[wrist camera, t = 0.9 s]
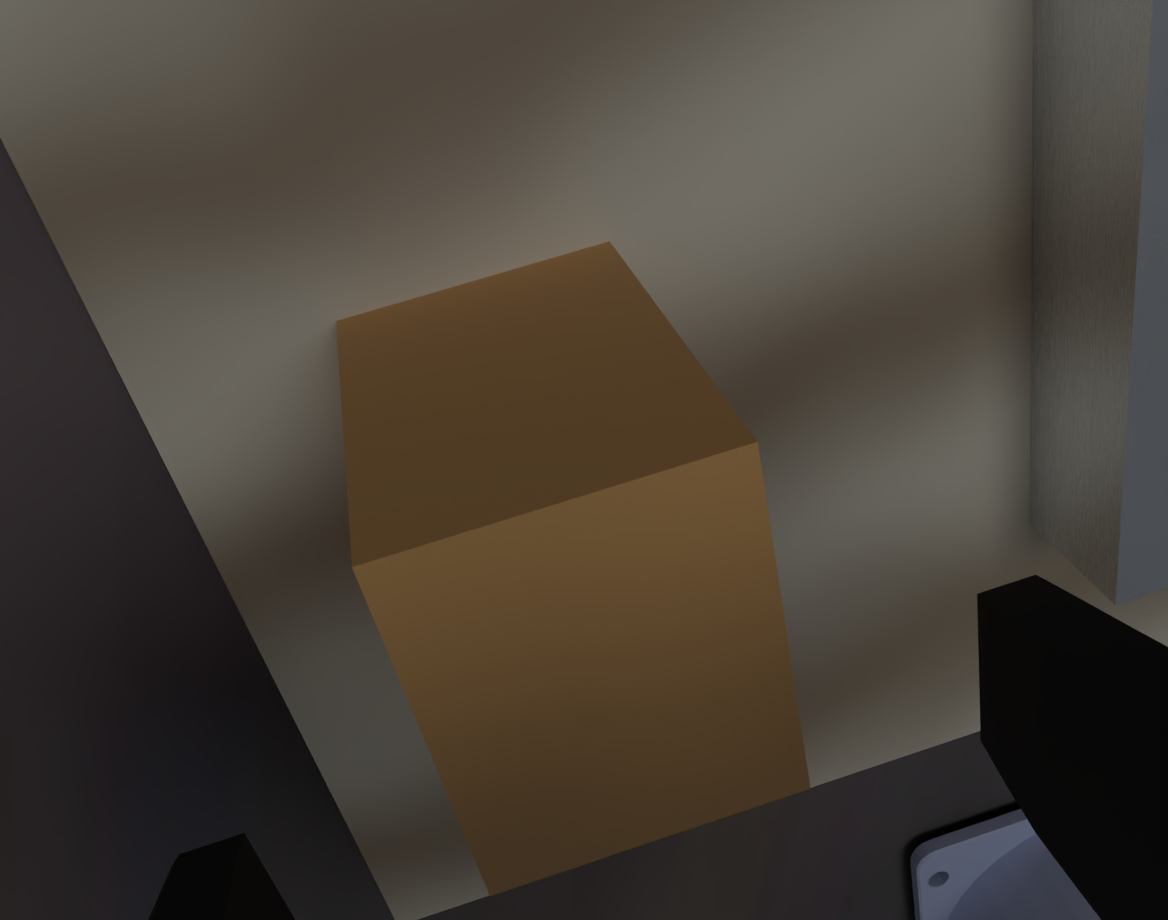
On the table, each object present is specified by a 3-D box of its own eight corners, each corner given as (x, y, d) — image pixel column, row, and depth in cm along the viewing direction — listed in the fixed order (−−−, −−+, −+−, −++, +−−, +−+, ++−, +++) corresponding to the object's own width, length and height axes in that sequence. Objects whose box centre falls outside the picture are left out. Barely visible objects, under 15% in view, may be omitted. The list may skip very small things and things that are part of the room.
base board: (1755, 432, 25) (1806, 453, 24) (394, 884, 22) (398, 926, 22) (2212, -641, 15) (2324, -669, 14) (-67, -54, 13) (-92, -44, 12)
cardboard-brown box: (669, 520, 18) (810, 789, 13) (437, 593, 18) (489, 896, 13) (609, 241, 16) (757, 441, 10) (336, 321, 15) (352, 566, 10)
